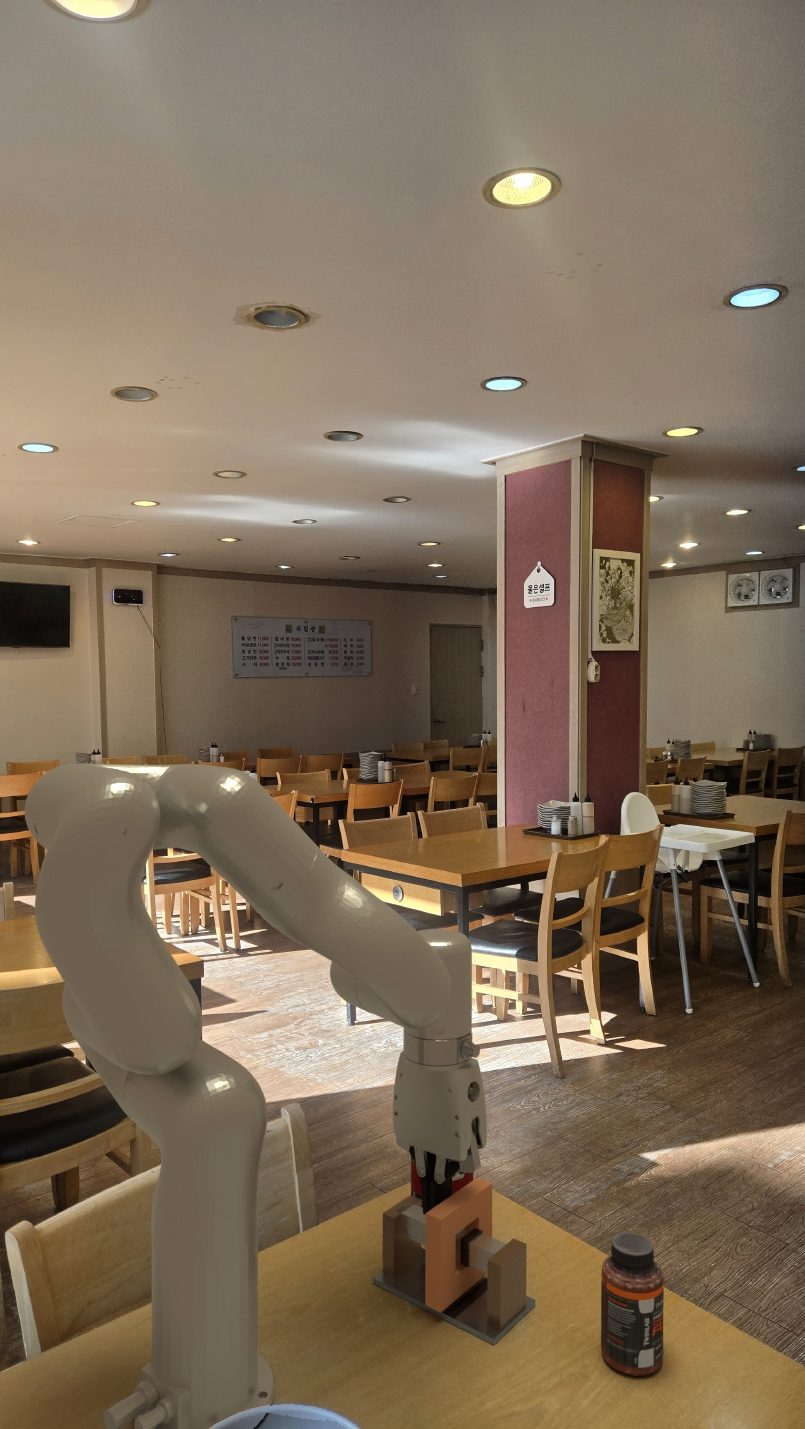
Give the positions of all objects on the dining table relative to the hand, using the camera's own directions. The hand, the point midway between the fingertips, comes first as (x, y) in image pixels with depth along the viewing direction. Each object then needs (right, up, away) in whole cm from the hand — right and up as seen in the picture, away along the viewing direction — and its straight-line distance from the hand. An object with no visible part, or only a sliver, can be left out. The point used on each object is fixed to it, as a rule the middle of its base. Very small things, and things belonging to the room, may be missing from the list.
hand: (437, 1211), depth 102 cm
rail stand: (+2, -8, -1) cm, 9 cm away
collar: (+2, -7, -2) cm, 8 cm away
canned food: (+1, -9, +13) cm, 16 cm away
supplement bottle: (+19, -9, -11) cm, 23 cm away
